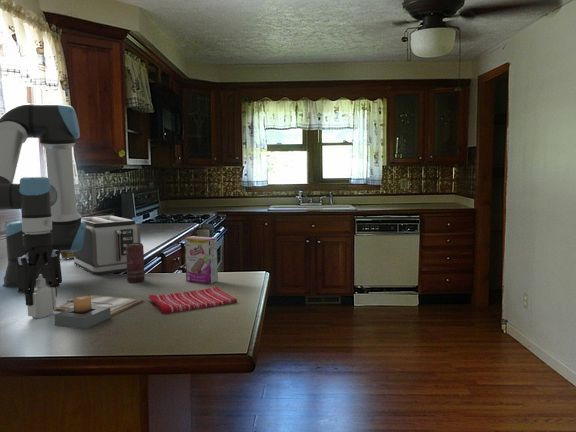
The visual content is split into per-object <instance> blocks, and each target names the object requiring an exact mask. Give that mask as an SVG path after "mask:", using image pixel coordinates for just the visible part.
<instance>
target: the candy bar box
mask: <svg viewBox="0 0 576 432" xmlns="http://www.w3.org/2000/svg"><path fill="white" fill-rule="evenodd" d="M184 246H185V248H184V249H185V252H184V253H185V280H186V282H190V283H191V282H192V283H198V284H199V283H200V284H207V285H213V284H214V283H217V282H219V280H218V279H219V277H218V276H219V275H218V274H219V273H218V271H219V269H218V238H217V237H208V236H207V237H206V236H197V235H191V236H186V237H185V238H184Z"/></svg>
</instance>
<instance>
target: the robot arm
mask: <svg viewBox="0 0 576 432" xmlns="http://www.w3.org/2000/svg"><path fill="white" fill-rule="evenodd" d="M75 110H76V109H74V107H73V106H71V105H68V104H67V105H66V104H60V103H57V104H51V103H49V104H47V103H46V104H45V103H44V104H43V103H23V104H22V103H21V104H19V105H15V106H13V107H11V108H10V109H9V110H7V111H6V112H4V114H3V115H2V116H1V117H0V210H3V211H5V210H21V213H20V214H21V220H17V221H12V222H10V223H8V224H7V225H6V226H5V239H6V241H5V242H6V253H7V255H6V256H7V266H6V270H5V274H4V277H3V285H4V286H5V287H9V288H10V287H13V288H16V287H17V293H19V294H24V297H25V299H24V301H25V306H27V316H28V317H31V318H33V317H37V316H38V310H37V293H34V289H35V288H36V279H38V277H39V274H42V277H43V278H45V280H46V283H47V284H46V285H47V287H50V288H51V290H52V303H53V311H54V310H56V307H57V296H58V292H57V291H58V289H57V288H59V287H60V286H61V285H60V284H62V282H63V276H62V267H61V266H62V265H61V259H60V258H61V252H74V251H80V250H82V249H83V246H84V241H85V233H86V221H84V220H81V218H82V215H81V214H80V213H78V211H77V205H76V203H77V202H76V191H75V188H76V187H75V176H74V164H73V163H74V161H73V149H72V148H73V147H74V146H75V145H76V144H77V142H76V139H80V137H81V132H80V124H79V121H78V116H77V113H76V111H75ZM30 138H33V139H39V144H40V145H41V146H42V147H43V148H45V159H46V169H47V170H46V172H47V177H46V176H34V177H33V176H32V177H31V176H28V177H25V176H24V177H21V178H20V179H19V183H14V180H15V176H16V171H17V167H18V163H19V157H20V155H21V150H22V146H23V144H24V143H25V142H26V141H27V139H30Z"/></svg>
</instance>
